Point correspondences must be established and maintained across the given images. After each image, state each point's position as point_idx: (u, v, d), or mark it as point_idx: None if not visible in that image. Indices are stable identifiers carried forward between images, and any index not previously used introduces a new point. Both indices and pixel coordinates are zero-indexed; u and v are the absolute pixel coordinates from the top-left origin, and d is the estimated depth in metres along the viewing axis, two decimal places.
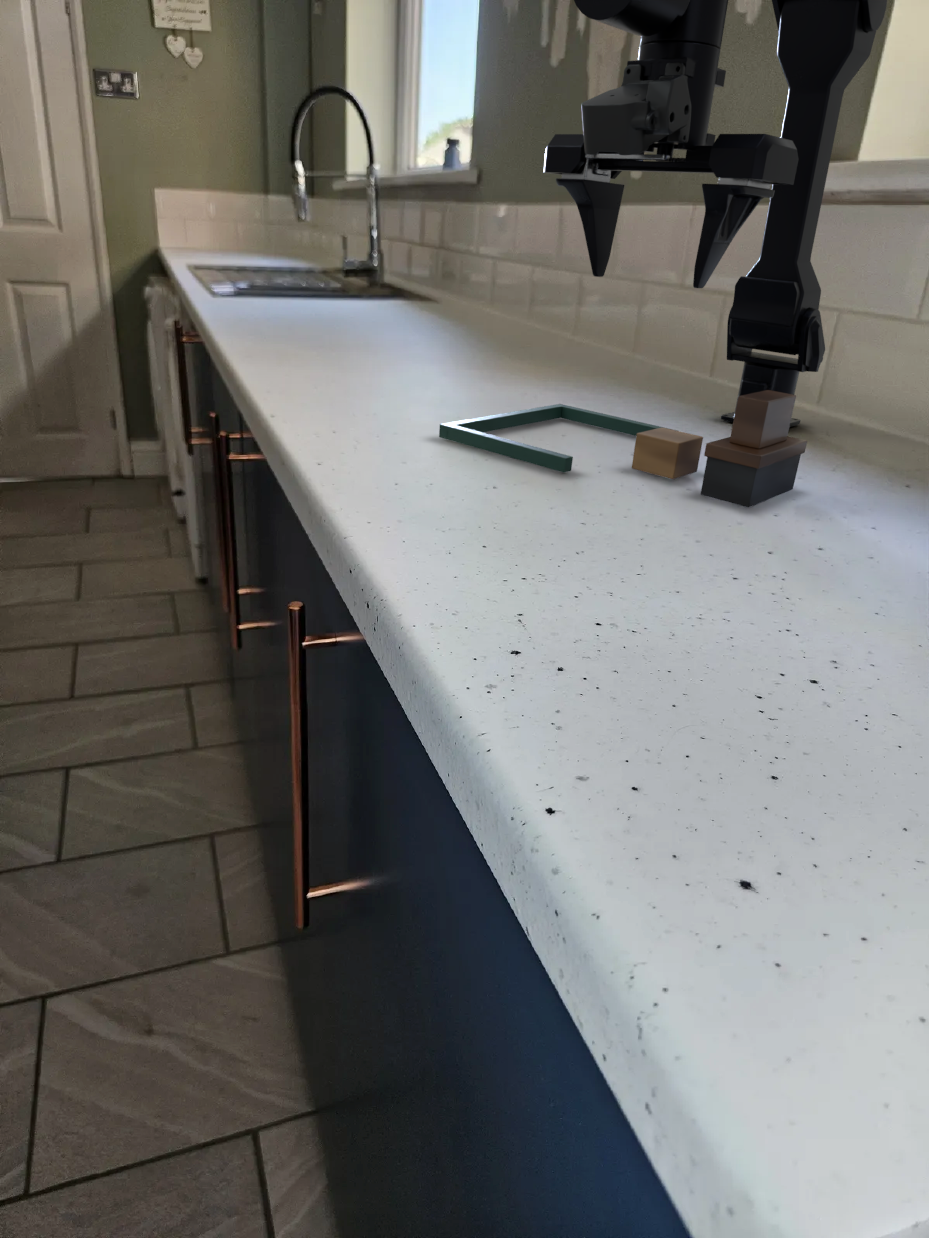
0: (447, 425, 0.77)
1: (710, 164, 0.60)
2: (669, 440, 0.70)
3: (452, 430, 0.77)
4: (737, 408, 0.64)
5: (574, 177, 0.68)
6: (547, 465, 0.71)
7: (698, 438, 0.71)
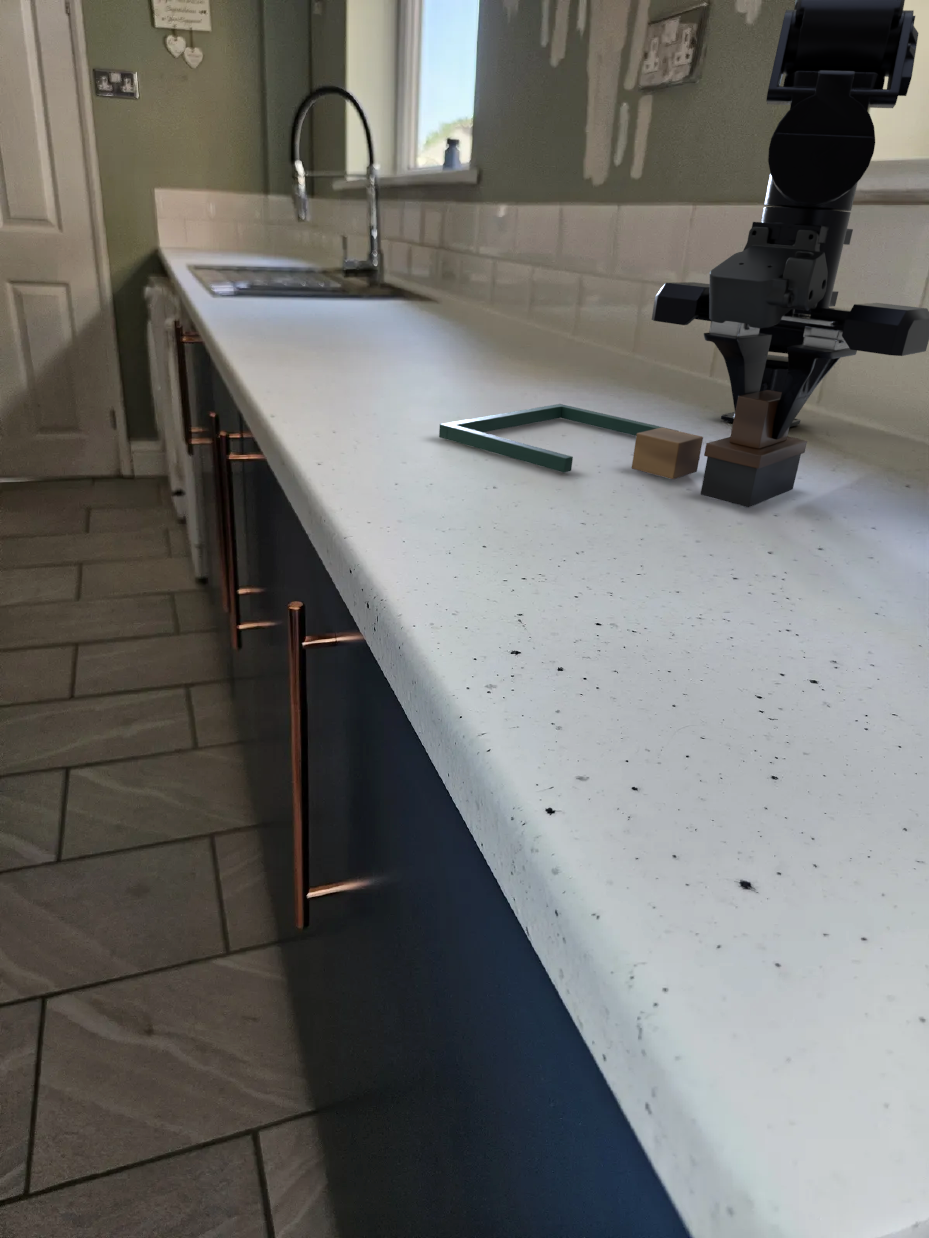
0: (447, 425, 0.77)
1: (844, 335, 0.58)
2: (669, 440, 0.70)
3: (452, 430, 0.77)
4: (737, 408, 0.64)
5: (725, 333, 0.64)
6: (547, 465, 0.71)
7: (698, 438, 0.71)
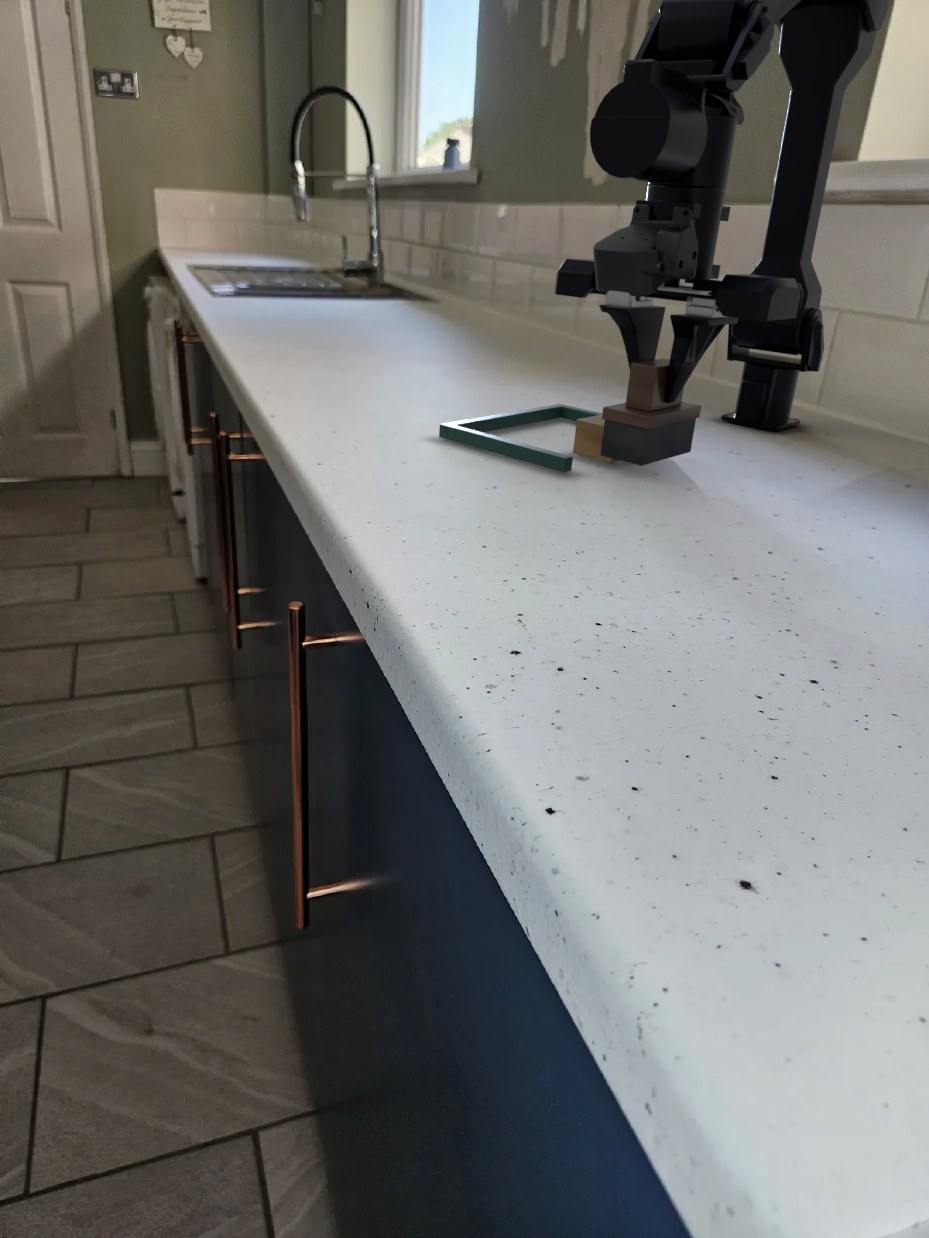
0: (447, 425, 0.77)
1: (717, 303, 0.63)
2: None
3: (452, 430, 0.77)
4: (630, 374, 0.70)
5: (618, 304, 0.69)
6: (547, 465, 0.71)
7: None
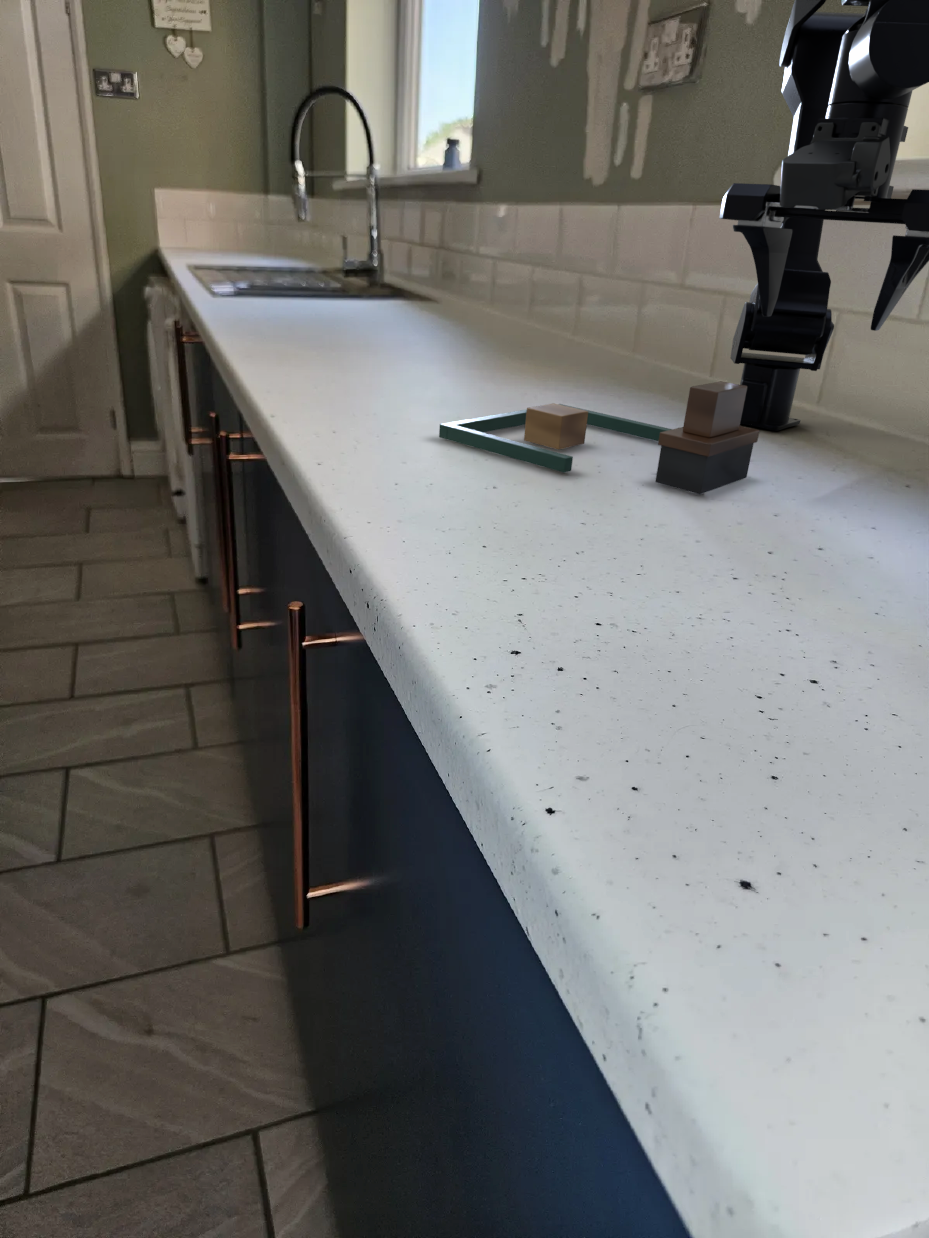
0: (447, 425, 0.77)
1: (903, 218, 0.64)
2: (554, 413, 0.76)
3: (452, 430, 0.77)
4: (689, 398, 0.67)
5: (752, 224, 0.72)
6: (547, 465, 0.71)
7: (583, 412, 0.78)
